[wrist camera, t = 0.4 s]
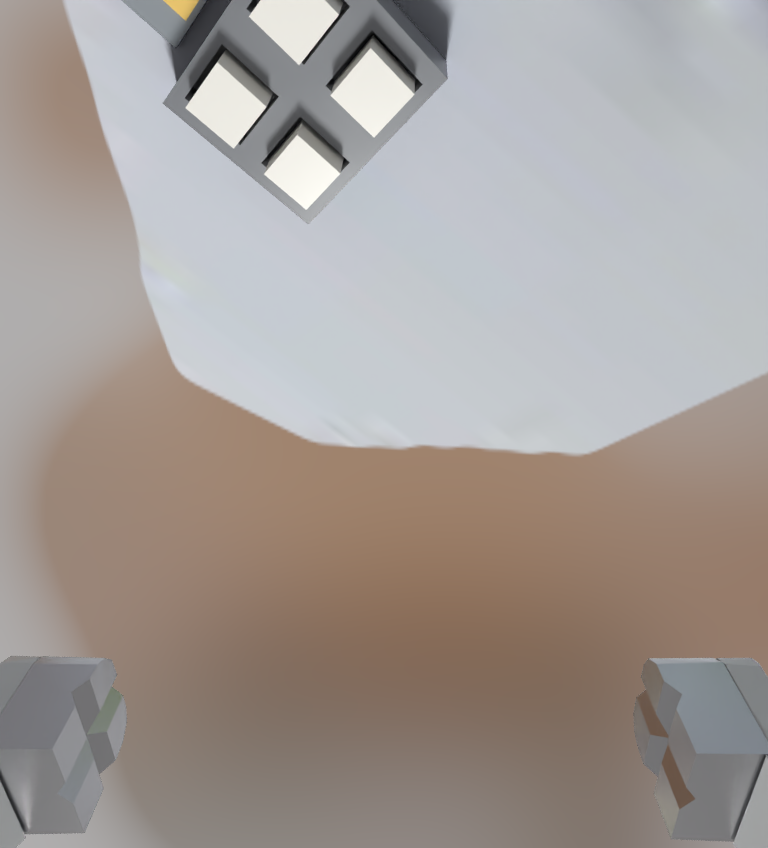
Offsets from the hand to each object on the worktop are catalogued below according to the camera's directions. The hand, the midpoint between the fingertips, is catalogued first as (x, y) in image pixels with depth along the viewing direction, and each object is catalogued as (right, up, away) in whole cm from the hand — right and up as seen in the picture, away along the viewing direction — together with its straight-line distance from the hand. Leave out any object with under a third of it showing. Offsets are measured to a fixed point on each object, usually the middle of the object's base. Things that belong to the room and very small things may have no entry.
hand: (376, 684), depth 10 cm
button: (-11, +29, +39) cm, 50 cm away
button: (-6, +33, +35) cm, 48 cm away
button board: (-6, +31, +41) cm, 52 cm away
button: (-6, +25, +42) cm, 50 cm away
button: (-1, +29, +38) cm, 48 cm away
